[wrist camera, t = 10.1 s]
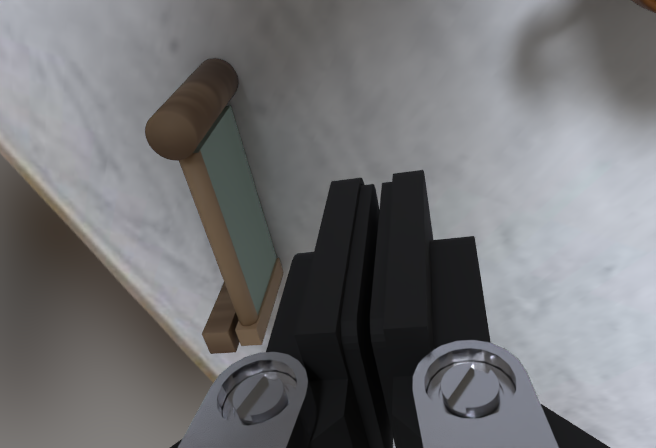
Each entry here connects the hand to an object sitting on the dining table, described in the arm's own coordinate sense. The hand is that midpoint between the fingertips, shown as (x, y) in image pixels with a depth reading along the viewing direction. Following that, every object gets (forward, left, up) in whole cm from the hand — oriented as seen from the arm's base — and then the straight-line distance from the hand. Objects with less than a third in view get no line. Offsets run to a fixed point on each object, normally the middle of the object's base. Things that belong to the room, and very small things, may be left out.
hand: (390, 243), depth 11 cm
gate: (+14, -14, -28) cm, 35 cm away
